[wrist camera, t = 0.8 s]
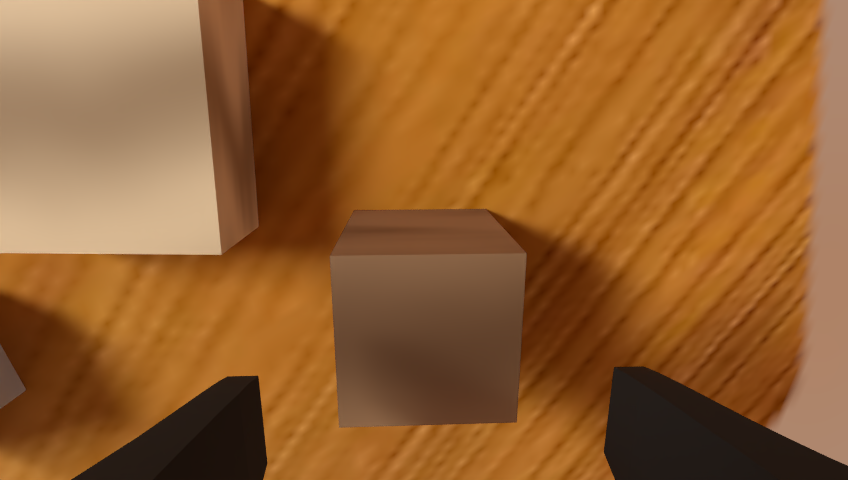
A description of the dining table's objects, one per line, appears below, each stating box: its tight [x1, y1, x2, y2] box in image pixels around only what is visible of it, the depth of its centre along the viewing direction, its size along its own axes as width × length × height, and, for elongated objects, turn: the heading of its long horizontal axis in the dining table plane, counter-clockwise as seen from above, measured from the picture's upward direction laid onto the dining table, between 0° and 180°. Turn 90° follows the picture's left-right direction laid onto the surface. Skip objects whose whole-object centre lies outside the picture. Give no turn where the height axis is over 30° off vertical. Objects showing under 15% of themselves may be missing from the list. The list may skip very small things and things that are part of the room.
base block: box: [0, 0, 259, 255], centre depth 14 cm, size 8×8×4 cm
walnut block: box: [330, 209, 527, 427], centre depth 15 cm, size 5×5×6 cm
